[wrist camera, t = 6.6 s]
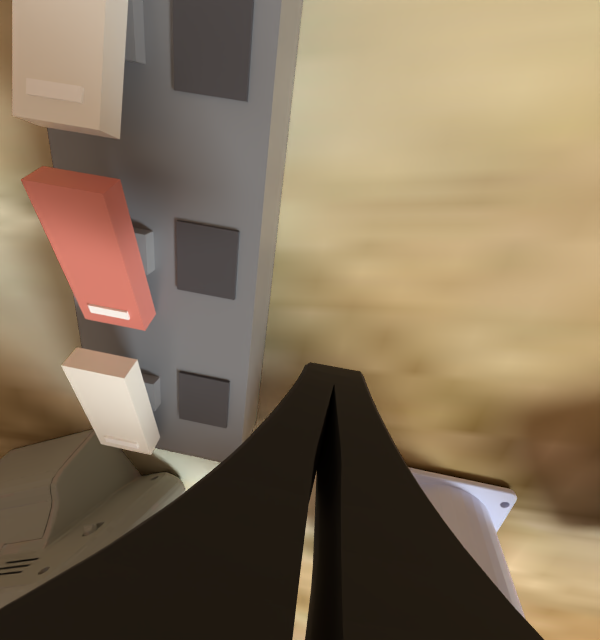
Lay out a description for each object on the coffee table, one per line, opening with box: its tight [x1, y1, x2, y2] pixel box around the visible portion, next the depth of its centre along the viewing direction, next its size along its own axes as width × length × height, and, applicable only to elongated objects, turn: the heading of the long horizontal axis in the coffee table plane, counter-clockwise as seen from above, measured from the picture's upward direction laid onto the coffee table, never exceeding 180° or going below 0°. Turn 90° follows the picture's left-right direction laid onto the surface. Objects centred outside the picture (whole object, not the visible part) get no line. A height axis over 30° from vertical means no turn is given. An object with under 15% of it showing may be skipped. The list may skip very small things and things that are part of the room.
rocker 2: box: [21, 166, 156, 331], centre depth 14 cm, size 6×3×1 cm, turn 173°
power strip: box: [47, 0, 303, 462], centre depth 15 cm, size 26×8×4 cm, turn 172°
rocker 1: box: [12, 0, 128, 139], centre depth 10 cm, size 6×3×1 cm, turn 171°
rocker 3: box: [61, 347, 160, 455], centre depth 17 cm, size 6×3×1 cm, turn 173°
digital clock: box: [0, 429, 185, 608], centre depth 23 cm, size 16×9×11 cm, turn 101°
